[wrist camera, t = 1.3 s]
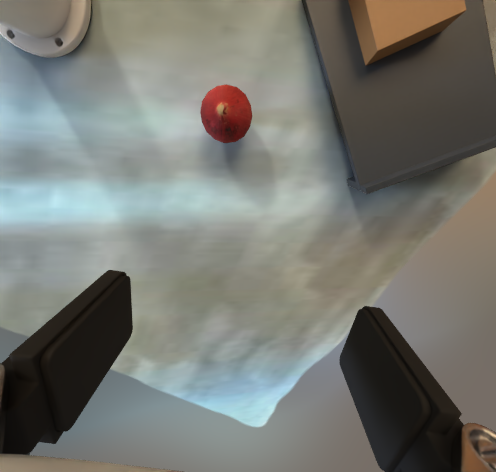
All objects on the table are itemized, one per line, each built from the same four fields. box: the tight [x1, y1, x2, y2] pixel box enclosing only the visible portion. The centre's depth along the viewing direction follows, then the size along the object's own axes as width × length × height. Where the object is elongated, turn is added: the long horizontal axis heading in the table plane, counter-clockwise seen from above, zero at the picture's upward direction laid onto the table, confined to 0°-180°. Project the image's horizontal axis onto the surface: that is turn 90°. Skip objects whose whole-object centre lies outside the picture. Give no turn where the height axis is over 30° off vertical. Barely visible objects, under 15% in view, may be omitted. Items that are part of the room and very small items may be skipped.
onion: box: [201, 85, 252, 143], centre depth 26 cm, size 6×6×8 cm
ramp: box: [302, 0, 496, 194], centre depth 25 cm, size 22×16×6 cm
